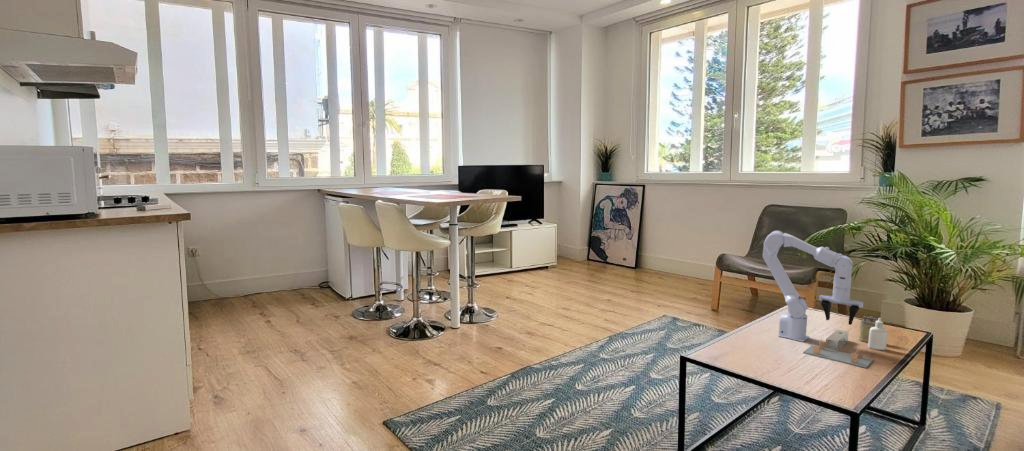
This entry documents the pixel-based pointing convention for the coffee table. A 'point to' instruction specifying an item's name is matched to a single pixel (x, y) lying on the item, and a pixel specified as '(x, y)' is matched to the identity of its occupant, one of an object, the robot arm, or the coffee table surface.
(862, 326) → the lighter
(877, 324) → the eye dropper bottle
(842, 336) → the silver long block
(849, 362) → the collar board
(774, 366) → the coffee table surface
